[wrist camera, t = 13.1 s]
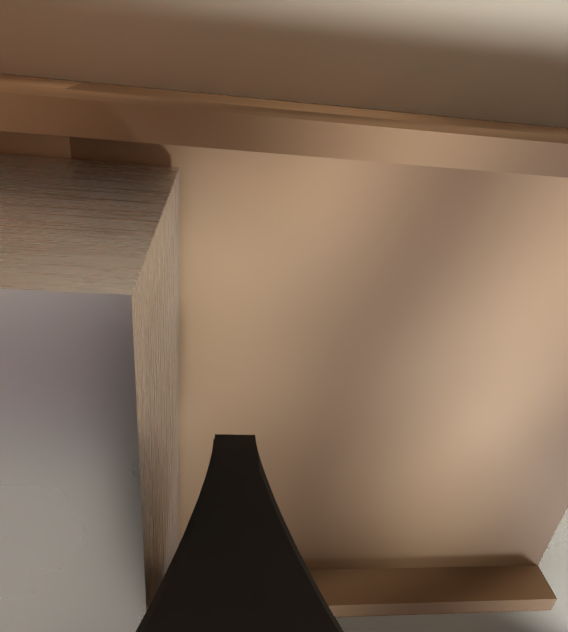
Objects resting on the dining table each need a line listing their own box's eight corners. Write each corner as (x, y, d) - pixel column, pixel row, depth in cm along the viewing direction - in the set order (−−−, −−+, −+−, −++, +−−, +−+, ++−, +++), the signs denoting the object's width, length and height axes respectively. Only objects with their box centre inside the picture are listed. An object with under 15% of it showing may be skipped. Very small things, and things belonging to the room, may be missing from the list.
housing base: (696, 140, 10) (834, 172, 8) (512, 540, 16) (560, 628, 14) (-403, 35, 8) (-672, 36, 6) (-161, 549, 14) (-242, 658, 11)
